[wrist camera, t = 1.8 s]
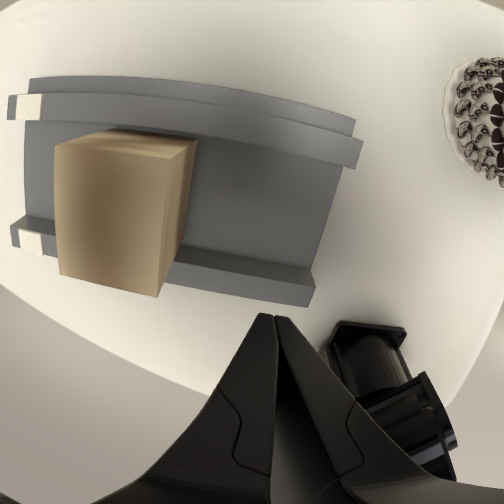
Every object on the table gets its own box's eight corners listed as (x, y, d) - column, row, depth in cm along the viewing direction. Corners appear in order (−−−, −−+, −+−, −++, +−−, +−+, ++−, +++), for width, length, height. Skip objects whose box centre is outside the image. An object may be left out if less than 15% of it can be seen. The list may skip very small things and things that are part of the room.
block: (198, 138, 16) (170, 158, 10) (183, 238, 18) (157, 297, 13) (113, 128, 15) (54, 145, 10) (107, 224, 18) (59, 274, 13)
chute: (350, 118, 16) (369, 122, 13) (297, 292, 21) (303, 322, 19) (38, 78, 14) (8, 79, 11) (36, 240, 20) (13, 260, 17)
